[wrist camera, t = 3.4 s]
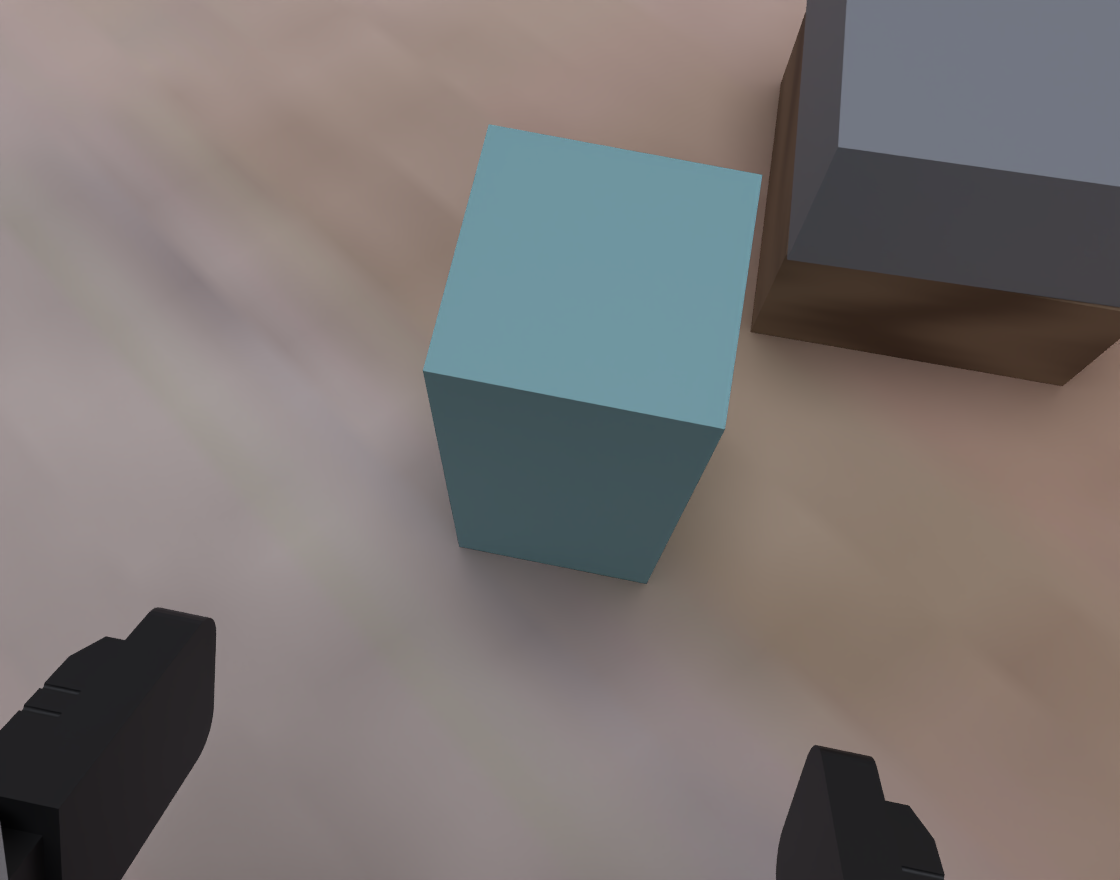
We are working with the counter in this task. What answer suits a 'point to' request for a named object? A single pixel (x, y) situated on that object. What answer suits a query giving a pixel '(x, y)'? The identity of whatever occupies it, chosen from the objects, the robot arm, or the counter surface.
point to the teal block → (587, 347)
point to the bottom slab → (911, 297)
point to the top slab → (962, 143)
